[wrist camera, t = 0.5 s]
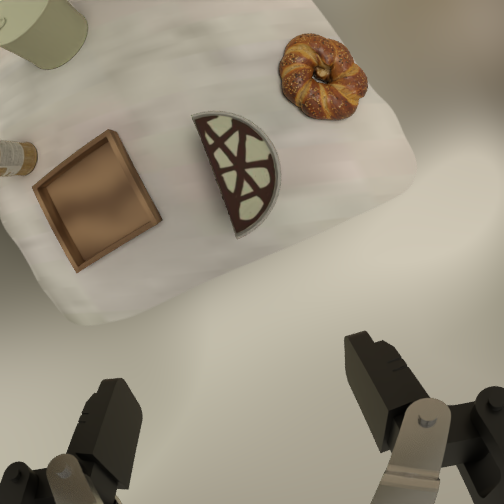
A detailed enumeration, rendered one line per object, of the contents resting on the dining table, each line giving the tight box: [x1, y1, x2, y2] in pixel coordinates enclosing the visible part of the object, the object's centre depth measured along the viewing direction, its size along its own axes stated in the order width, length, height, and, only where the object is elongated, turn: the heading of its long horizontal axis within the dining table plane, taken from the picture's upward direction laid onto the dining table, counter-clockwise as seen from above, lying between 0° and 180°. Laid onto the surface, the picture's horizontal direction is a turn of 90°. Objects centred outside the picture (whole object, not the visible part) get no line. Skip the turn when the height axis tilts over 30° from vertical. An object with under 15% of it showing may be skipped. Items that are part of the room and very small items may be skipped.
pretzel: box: [279, 33, 368, 120], centre depth 32 cm, size 12×11×4 cm
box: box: [32, 129, 163, 273], centre depth 33 cm, size 12×12×3 cm
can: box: [0, 0, 88, 69], centre depth 22 cm, size 9×9×12 cm
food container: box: [191, 111, 281, 239], centre depth 31 cm, size 12×6×10 cm, turn 20°
